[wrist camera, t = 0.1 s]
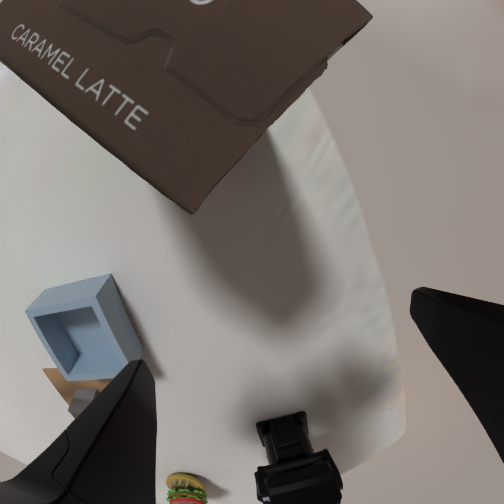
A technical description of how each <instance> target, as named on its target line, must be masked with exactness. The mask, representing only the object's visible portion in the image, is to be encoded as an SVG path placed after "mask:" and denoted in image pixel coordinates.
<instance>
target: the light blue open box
mask: <svg viewBox="0 0 504 504" xmlns="http://www.w3.org/2000/svg"><path fill="white" fill-rule="evenodd" d="M25 312H26V314H27V316H28V318H29V320H30V322H31V324H32V325H33V327H34V329H35V331H36V333H37V335H38V336H39V338H40V340H41V342H42V343H43V345H44V347H45V348H46V350H47V352H48V353H49V355H50V357H51V358H52V360H53V361H54V363H55V364H56V366H57V367H58V369H59V370H60V372H61V373H62V375H63V376H64V378H65V379H66V381H81V380H98V379H111V378H114V377H115V376H116V375H117V374H118V373H119V372H120V371H121V370H122V369H123V368H124V367H125V366H126V365H127V364H128V363H129V362H130V361H131V360H137V359H140V358H141V354H142V351H143V346H142V344H141V342H140V340H139V338H138V336H137V334H136V332H135V330H134V327H133V325H132V323H131V321H130V319H129V316H128V314H127V312H126V309H125V307H124V305H123V302H122V300H121V298H120V295H119V293H118V290H117V288H116V285H115V283H114V280H113V277H112V275H111V274H108V275H104V276H99V277H95V278H91V279H87V280H83V281H79V282H75V283H70V284H66V285H62V286H58V287H54V288H50V289H46V290H44V291H43V292H42V293H41V294H40V295H39V296H38V297H37V298H36V299H35V300H34V301H33V303H32V304H31V305H30V306H29V307H28V308H27V309H26V310H25Z"/></svg>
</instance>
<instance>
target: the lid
mask: <svg viewBox="0 0 504 504" xmlns="http://www.w3.org/2000/svg"><path fill="white" fill-rule="evenodd" d="M43 371H44V372H45V374H46V375H47V377H48V378H49V380H50V381H51V382H52V384H53V385H54V386H55V388H56V389H57V390H58V392H59V393H60V394H61V396H62V397H63V398H64V400H65V401H66V402H67V403H68V405H69V409H68V411H69V412H70V413H71V414H72V415H73V417H74V418H75V419H76V417H77V416H78V415H79V414H80V413H81V412H82V411H83V410H84V409H85V408H86V407H87V406H88V405H89V404H90V403H91V402H92V401H93V399H94V398H95V397H96V396H97V395H98V394H99V393H100V392H101V391H102V390H103V389H104V388H105V387H106V386H107V385H108V384H109V383H110V382H111V380H112V379H113V378H111V379H98V380H81V381H66V379H65V378H64V376H63V375H62V373H61V372H60V370H59V369H58V368H45V369H43Z"/></svg>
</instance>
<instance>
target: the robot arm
mask: <svg viewBox="0 0 504 504" xmlns="http://www.w3.org/2000/svg"><path fill="white" fill-rule="evenodd" d="M410 315H411V317H412V319H413V320H414V321H415V323H416V325H417V327H418V328H419V330H420V332H421V333H422V335H423V337H424V338H425V340H426V342H427V343H428V345H429V346H430V348H431V349H432V351H433V352H434V354H435V355H436V356H437V358H438V359H439V360H440V362H441V363H442V365H443V366H444V368H445V369H446V370H447V372H448V373H449V375H450V376H451V377H452V379H453V380H454V382H455V383H456V385H457V386H458V387H459V389H460V391H461V392H462V394H463V395H464V397H465V398H466V400H467V401H468V403H469V404H470V406H471V408H472V409H473V411H474V412H475V414H476V416H477V417H478V419H479V420H480V422H481V424H482V425H483V427H484V429H485V430H486V432H487V434H488V436H489V438H490V439H491V441H492V443H493V444H494V446H495V448H496V450H497V452H498V454H499V456H500V458H501V459H502V461H503V463H504V305H500V304H497V303H492V302H488V301H483V300H479V299H474V298H470V297H466V296H462V295H457V294H453V293H449V292H444V291H440V290H436V289H431V288H427V287H420V288H417V289H415V290H414V291H413V292H412V296H411V304H410ZM256 428H257V431H258V434H259V437H260V440H261V442H262V445H263V447H265V449H266V453H267V457H268V461H269V465H267V466H259V467H257V469H258V471H257V472H255V473H254V474H255V479H256V487H257V499H258V500H259V501H260V502H262V503H263V504H340V502H341V499H342V494H341V492H340V490H342V489H343V483H342V479H341V476H340V473H339V471H338V469H337V467H336V465H335V463H334V461H333V459H332V457H331V456H330V454H329V452H328V450H327V449H324V450H323V451H320V452H317V453H314V451H313V448H312V445H311V442H310V440H309V437H308V428H307V416H306V413H305V412H299V413H296V414H292V415H288V416H284V417H281V418H277V419H272V420H268V421H264V422H259V423H257V424H256ZM156 437H157V414H156V395H155V381H154V377H153V375H152V374H151V372H150V370H149V368H148V366H147V364H146V363H145V361H144V360H143V359H137V360H131V361H130V362H129V363H128V364H127V365H126V366H125V367H124V368H123V369H122V370H121V371H120V372H119V373H118V374H117V375H116V376H115V377H114V378H113V379H112V380H111V382H110V383H109V384H108V385H107V386H106V387H105V388H104V389H103V390H102V391H101V392H100V393H99V394H98V395H97V396H96V397H95V398H94V399H93V401H92V402H91V403H90V404H89V405H88V406H87V407H86V408H85V409H84V410H83V411H82V412H81V413H80V414H79V415H78V416H77V417H76V419H75V420H74V421H73V422H72V423H71V424H70V425H69V426H68V427H67V430H64V431H63V432H62V433H61V435H60V436H59V437H58V438H57V439H56V440H55V441H54V442H53V443H52V444H51V445H50V446H49V447H48V448H47V449H46V450H45V451H44V452H43V453H41V454H40V455H39V456H38V457H37V458H36V459H35V460H34V461H33V462H31V463H30V464H29V465H28V466H27V467H26V468H25V469H24V470H22V471H21V472H20V473H19V474H18V475H17V476H15V477H14V478H12V479H10V480H7V481H4V482H0V504H156V497H155V470H156Z"/></svg>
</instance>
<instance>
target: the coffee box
mask: <svg viewBox="0 0 504 504" xmlns="http://www.w3.org/2000/svg"><path fill="white" fill-rule="evenodd" d="M372 18H373V16H372V15H371V14H370V13H369V12H368V11H367V10H366V9H365V8H364V7H363V6H362V5H361V4H360V3H359V2H357V1H356V0H3V1H2V2H1V3H0V61H1V62H2V63H3V64H4V65H5V66H7V67H8V68H9V69H10V70H11V71H13V72H14V73H15V74H16V75H17V76H18V77H20V78H21V79H22V80H23V81H24V82H25V83H26V84H28V85H29V86H30V87H31V88H33V89H34V90H35V91H36V92H37V93H39V94H40V95H41V96H42V97H43V98H44V99H45V100H47V101H48V102H49V103H50V104H51V105H52V106H54V107H55V108H56V109H57V110H59V111H60V112H61V113H62V114H64V115H65V116H66V117H67V118H68V119H69V120H70V121H71V122H73V123H74V124H75V125H76V126H78V127H79V128H80V129H81V130H83V131H84V132H85V133H87V134H88V135H89V136H90V137H91V138H93V139H94V140H95V141H96V142H97V143H99V144H100V145H101V146H102V147H103V148H105V149H106V150H107V151H109V152H110V153H111V154H112V155H114V156H115V157H116V158H118V159H119V160H120V161H122V162H123V163H124V164H125V165H126V166H127V167H129V168H130V169H131V170H132V171H133V172H135V173H136V174H137V175H139V176H140V177H141V178H143V179H144V180H145V181H147V182H148V183H149V184H150V185H152V186H153V187H154V188H155V189H157V190H158V191H159V192H160V193H162V194H163V195H164V196H166V197H167V198H169V199H170V200H172V201H173V202H175V203H176V204H177V205H178V206H180V207H181V208H182V209H184V210H185V211H187V212H188V213H190V214H194V213H196V211H197V210H198V208H199V207H200V205H201V204H202V202H203V201H204V199H205V198H206V197H207V196H208V194H209V193H210V192H211V191H212V189H213V188H214V187H215V186H216V185H217V184H218V183H219V181H220V180H221V179H222V178H223V177H224V176H225V175H226V174H227V173H228V172H229V171H230V170H231V168H232V167H233V166H234V165H235V164H236V163H237V162H238V161H239V160H240V159H241V158H242V156H243V155H244V154H245V153H246V152H247V150H248V149H249V148H250V147H251V146H252V144H253V143H254V142H256V141H257V140H258V139H259V138H260V136H261V135H262V133H263V132H264V131H265V130H266V129H267V128H268V127H269V126H270V125H272V124H273V123H274V121H276V120H277V119H278V118H279V117H280V116H281V115H282V114H283V113H284V112H285V111H286V110H287V108H288V107H289V106H290V105H292V104H293V103H294V102H295V101H296V100H297V99H298V98H299V97H300V96H301V95H302V94H303V93H304V91H305V90H306V89H307V88H308V87H309V86H310V85H311V84H312V83H313V81H314V80H315V79H317V78H318V77H320V76H321V75H322V73H323V72H324V70H325V69H327V65H328V64H327V61H328V60H329V59H330V58H331V57H332V56H333V55H334V54H335V53H336V52H337V51H338V50H339V49H340V48H342V47H343V46H344V45H345V44H346V43H347V42H348V41H349V40H350V39H352V38H353V37H354V36H355V35H356V34H357V33H358V32H359V31H360V30H361V29H362V28H364V27H365V25H367V23H368V22H369V21H370V20H371V19H372Z"/></svg>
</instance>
